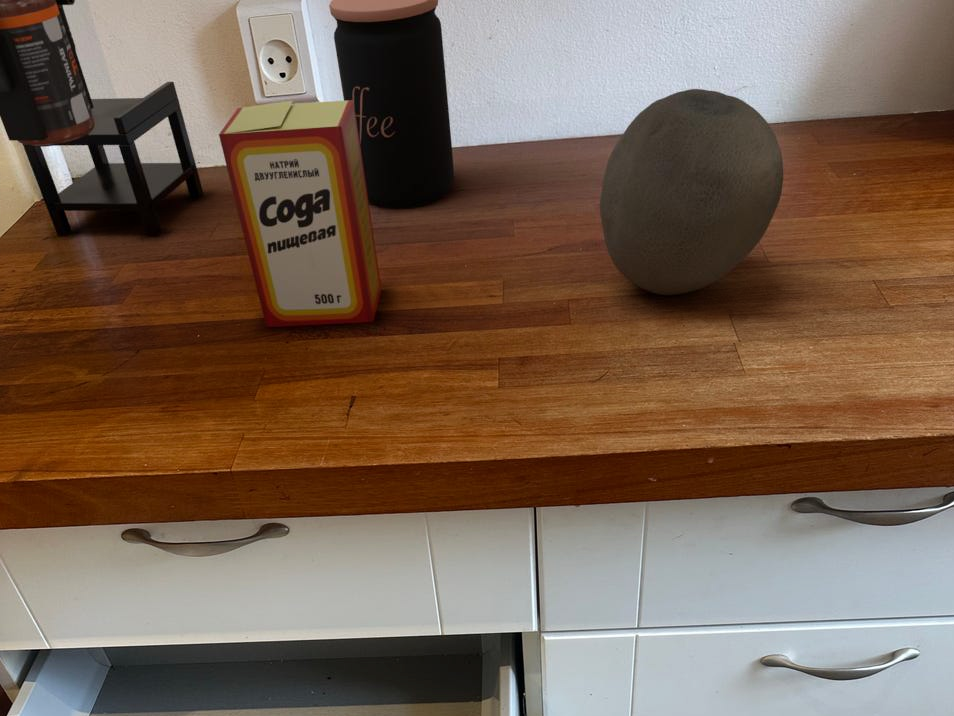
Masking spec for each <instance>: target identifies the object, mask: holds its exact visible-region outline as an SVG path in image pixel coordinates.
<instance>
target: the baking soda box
mask: <svg viewBox="0 0 954 716" xmlns="http://www.w3.org/2000/svg"><path fill="white" fill-rule="evenodd" d="M293 102H294V100H293V99H292V100H286V101H280V102H279V101H278V102H272V103H266V104H258V105H252V106H244V107H238V108H237V109H236V110H235V112H234V113H233V114H232V115H231V117H230V118H229V120H228V121H227V123H225V125H224V126H223V128H222V129H221V131H220V132H219V133H218V138H219V140H220V145H221V148H222V149H221V150H222V154H223V157H224V161H225V166H226V169H227V173H228V178H229V181H230V186H231V189H232V194H233V198H234V202H235V207H236V210H237V214H238V217H239V218H238V219H239V223H240V227H241V230H242V233H243V234H242V235H243V238H244V243H245V247H246V250H247V256H248V258H249V259H248V260H249V263H250V267H251V271H252V274H253V279H254V283H255V288H256V291H257V296H258V299H259V303H260V308H261V311H262V315H263V319H264V323H265V328H282V327H299V326H300V327H302V326H319V325H321V326H322V325H323V326H324V325H339V324H340V325H341V324H361V323H362V324H363V323H374V320H375V316H376V312H377V309H378V305H379V301H380V296H381V293H382V289H383V288H382V282H381V277H380V276H381V275H380V269H379V263H378V256H377V249H376V242H375V237H374V236H375V235H374V228H373V222H372V216H371V209H370V202H369V201H368V195H367V189H366V182H365V176H364V169H363V162H362V156H361V149H360V142H359V136H358V129H357V123H356V116H355V109H354V103H353V100H347V101H344V100H335V101H334V100H333V101H332V100H331V101H316V102H298V103H293Z"/></svg>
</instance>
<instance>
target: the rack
mask: <svg viewBox="0 0 954 716" xmlns="http://www.w3.org/2000/svg"><path fill="white" fill-rule="evenodd" d="M91 100H92V103H93V106H94V108H92V109H91V111H92V116H93V119H94V123H95V125H94V128H93V130H92V131H91V133H89V134H88V135H87V136H85V137H83V138H80V139H77V140H74V141H71V142H68V143H64V144H59V145H53V146H52V147H54V146H55V147H56V146H57V147H58V146H61V147H62V146H63V147H64V146H87V148H88V150H89V153H90V157H91V159H92V162H93V165H94V167H93V168H92V169H90V170H88V171H87V172H86V173H85V174H83V175H81V176H80V177H79V178H77V179H76V180H75V181H73V182H72V183H70V184H69V185H67V186H66V187H65V188H64V189H63V190H61V191H59V192H58V189H57V187H56V184H55V182H54V181H55V180H54V179H53V176H52V173H51V170H50V168H49V165H48V162H47V160H46V157H45V155H44V151H43V149H42V147H38V146H28V145H25V144H22V143H21V145H22V147H23V150H24V152H25V155H26V158H27V159H28V163H29V165H30V169H31V170H32V173H33V175H34V179H35V181H36V183H37V186H38V189H39V192H40V194H41V196H42V199H43V201H44V204H45V207H46V209H47V212H48V214H49V217H50V220H51V222H52V225H53V228H54V231H55V233H56V235H57V236H68V235H69V234H71V233H72V231H73V230H72V227H71V225H70V222H69V218H68V216H67V214H66V212H67V211H69V212H71V211H73V212H139V215H140V217H141V221H142V224H143V227H144V230H145V232H146V236H147V237H158V236H160V235H161V234H162V233H163V231H162V227H161V224H160V221H159V218H158V214H157V210H156V206H158V204H160V203H161V202H162V201H163V200H164V199H166V198H167V197H168V196H170V194H171V193H173V192H174V191H175V190H176V189H177V188H178V187H180V186H181V185H182V184H183V183H184V182H185V184H186V188H187V191H188V195H189V198H190V199H200V198H201V197H202V196H203V195H205V194H204V190H203V185H202V182H201V179H200V175H199V171H198V167H197V164H196V160H195V156H194V152H193V149H192V144H191V141H190V138H189V134H188V131H187V126H186V123H185V119H184V115H183V112H182V108H181V104H180V99H179V97H178V93H177V89H176V86H175V82H174V81H166V82H165V83H163V84H162V85H160V86H159V87H158V88H156V89H154V90H153V91H151V92H150V93H148V94H147V95H145V96H144V97H127V98H126V97H122V98H121V97H119V98H118V97H117V98H91ZM166 118H167V119H168V123H169V127H170V130H171V134H172V137H173V141H174V145H175V148H176V151H177V155H178V158H179V162H141V158H140V155H139V152H138V149H137V144H136V142H135V141H136V140H138V139H139V138H141V137H142V136H143V135H144V134H146V133H147V132H149V131H151V130H152V129H153V128H154V127H156V126H157V125H158V124H160V123H161V122H163V121H164V120H165V119H166ZM104 146H118V148H119V151H120V154H121V157H122V161H123V162H109V159H108V156H107V153H106V150H105V147H104Z"/></svg>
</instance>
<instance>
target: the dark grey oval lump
mask: <svg viewBox="0 0 954 716" xmlns="http://www.w3.org/2000/svg"><path fill="white" fill-rule="evenodd" d="M783 184H784V162H783V155H782V151H781V147H780V144H779V141H778V139H777V136H776V134H775V132H774V130H773V128H772V127H771V125H770V124H769V122H768V121H767V120H766V118H765V117H764V116H763V115H761V113H760V112H759V111H757V110H756V109H755V107H753V106H751V105H750V104H749V103H747V102H746V101H744V100H743V99H742V98H741V99H740V98H738V97H736V96H732V95H728V94H725V93H724V92H720V91H716V90H706V89H701V88H700V89H699V88H690V89H686V90H682V91H677V92H674V93H672V94H669V95H667V96H665V97H663V98H660V99H656V100H655V101H654V102H652V103H651V104H649V105H648V106H646V108H644V109H643V110H642V111H640V112H639V113H638V114H637V115H636V116H635V117H634V119H633V120H632V121H631V122H630V123H629V125H628V126H627V127H626V129H625V130H624V132H623V134H622V135H621V136H620V138H619V139H618V141H617V142H616V144H615V146H614V147H613V149H612V150H611V153H610V156H609V157H608V159H607V163H606V168H605V172H604V176H603V180H602V184H601V194H600V199H599V215H600V220H601V226H602V231H603V237H604V242H605V246H606V248H607V249H606V250H607V252H608V255H609V257H610V259H611V261H612V263H613V266H614V267H615V268H616V269H617V271H618V272H619V273H620V274H621V275H622V276H623V277H624V278H626V279H627V280H628V281H630V282H631V283H632V284H633V285H636V286H637V287H639V288H641V289H642V290H644V291H647V292H649V293H652V294H655V295H660V296H675V295H676V296H677V295H681V294H687V293H690V292H695V291H698V290H700V289H703V288H705V287H707V286H709V285H711V284H712V283H715V282H717V281H718V280H720V279H722V278H723V277H724V276H726V275H727V274H728V273H729V272H731V271H732V270H733V269H735V268H736V267H737V266H738V265H739V264H740V263H741V262H742V261H743V260H744V259H745V258H746V257H747V256H749V254H750V253H751V252H753V250H754V249H755V247H756V246H757V245H758V244H759V243H760V241H761V240H762V238H763V237H764V235H765V233H766V232H767V230H768V228H769V226H770V224H771V222H772V219H773V217H774V215H775V212H776V210H777V208H778V205H779V203H780V199H781V195H782V191H783Z"/></svg>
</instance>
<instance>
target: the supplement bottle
mask: <svg viewBox="0 0 954 716" xmlns="http://www.w3.org/2000/svg"><path fill="white" fill-rule="evenodd" d="M5 32H11V35H12V38H13V40H14V43H15V46H16V49H17V52H18V54H19V57H20V60H21V63H22V66H23V68H24V71H25V74H26V77H27V80H28V82H29V85H30V88H31V91H32V94H33V96H34V99H35V102H36V105H37V108H38V110H39V113H40V116H41V119H42V122H43V124H44V127H45V130H46V133H47V136H48V137H47V138H46V139H44V140H43V141H17V142H18V143H20V144H21V145H22V144H25V145H28V146H38V147H41V148H45V147H46V148H47V147H54V146H53V145H59V144H64V143H68V142H71V141H74V140H77V139H80V138H83V137H85V136H87V135H88V134H89V133H91V131H92V130H93V128H94V125H95V123H94V119H93V116H92V111H91V108H90V105H89V102H88V99H87V95H86V92H85V89H84V86H83V82H82V80H81V77H80V74H79V71H78V68H77V65H76V62H75V58H74V56H73V53H72V50H71V46H70V43H69V40H68V37H67V34H66V31H65V27H64V25H63V21H62V18H61V15H60V12H59V10H58V6H57V3H56V0H0V33H5Z"/></svg>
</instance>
